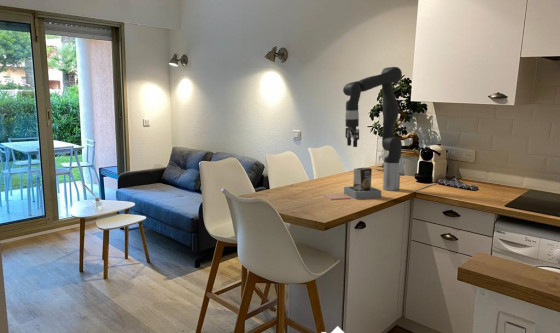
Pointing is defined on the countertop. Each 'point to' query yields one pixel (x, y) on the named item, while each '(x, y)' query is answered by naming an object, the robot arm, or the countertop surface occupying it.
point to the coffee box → (362, 179)
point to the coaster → (337, 196)
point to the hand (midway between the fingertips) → (352, 146)
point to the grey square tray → (362, 193)
